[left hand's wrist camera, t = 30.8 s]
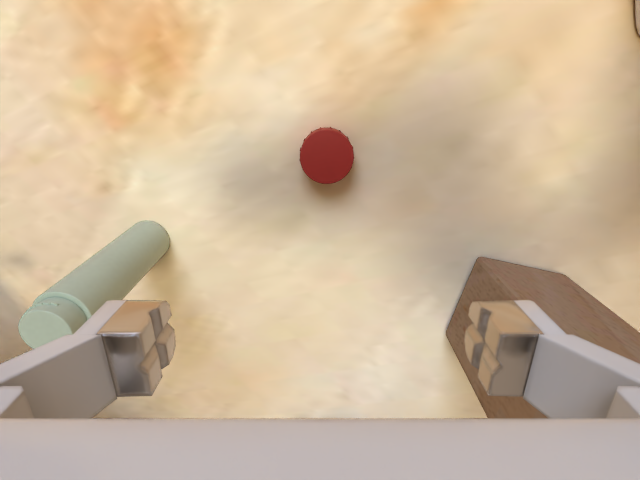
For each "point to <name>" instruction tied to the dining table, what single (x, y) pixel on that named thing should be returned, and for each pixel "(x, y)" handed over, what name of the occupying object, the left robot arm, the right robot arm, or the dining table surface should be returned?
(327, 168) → the lid
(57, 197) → the dining table surface
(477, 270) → the wooden block
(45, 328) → the green cylinder
